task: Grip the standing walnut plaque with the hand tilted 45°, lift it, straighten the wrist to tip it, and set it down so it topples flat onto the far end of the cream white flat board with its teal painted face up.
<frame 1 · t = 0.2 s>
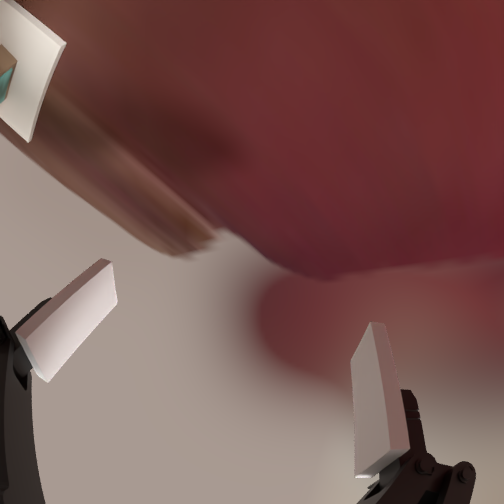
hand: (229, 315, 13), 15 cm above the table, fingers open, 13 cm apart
walnut plaque: (3, 72, 17), point 1 cm above the table, touching cream white flat board
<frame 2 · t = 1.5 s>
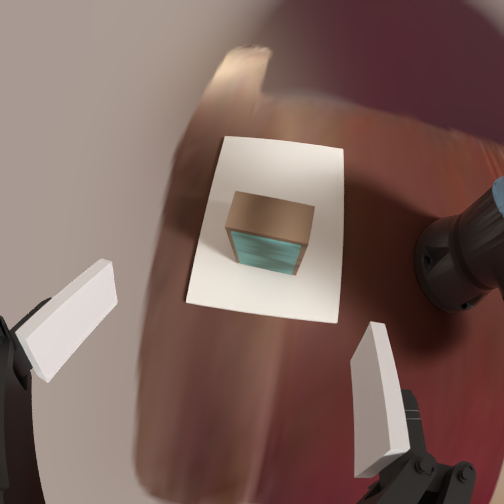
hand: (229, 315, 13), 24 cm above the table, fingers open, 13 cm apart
walnut plaque: (269, 255, 38), point 1 cm above the table, touching cream white flat board
cream white flat board: (274, 217, 41), on the table
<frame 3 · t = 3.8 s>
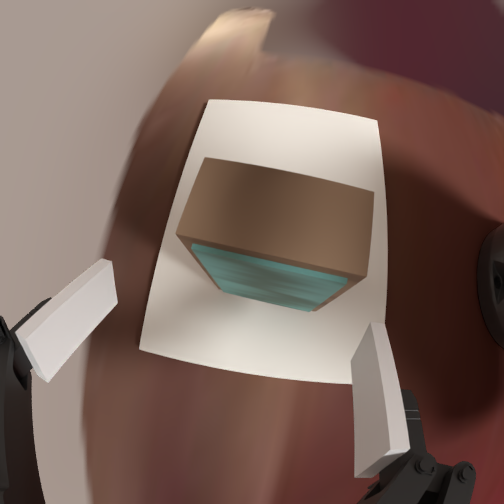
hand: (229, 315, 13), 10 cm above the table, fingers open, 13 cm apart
walnut plaque: (272, 277, 23), point 1 cm above the table, touching cream white flat board
cream white flat board: (280, 214, 26), on the table
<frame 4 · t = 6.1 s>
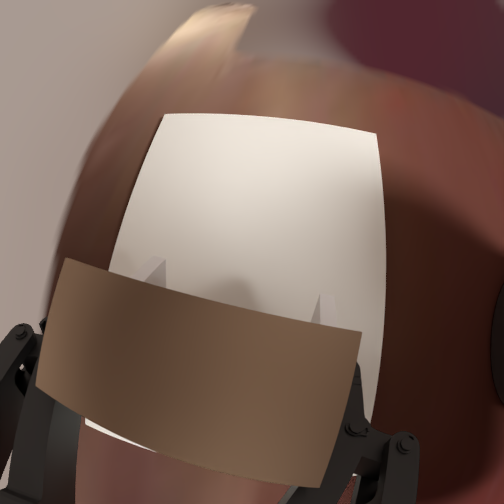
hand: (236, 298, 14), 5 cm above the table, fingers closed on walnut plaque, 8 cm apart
walnut plaque: (229, 358, 17), point 1 cm above the table, touching cream white flat board, gripper
cream white flat board: (244, 270, 20), on the table
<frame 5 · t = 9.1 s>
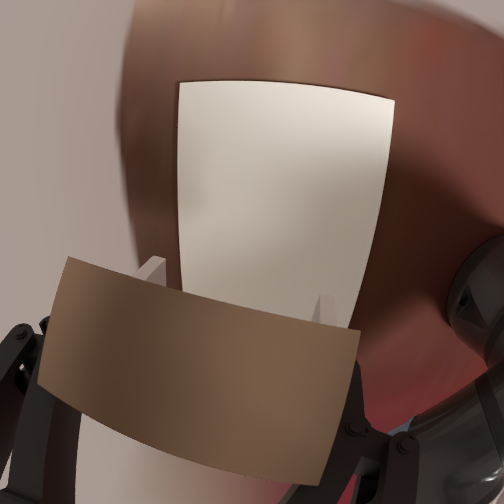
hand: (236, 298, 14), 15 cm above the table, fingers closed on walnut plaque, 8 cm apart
walnut plaque: (230, 358, 17), point 15 cm above the table, tilted 45°, touching gripper
cream white flat board: (274, 225, 28), on the table
when the fingers open (4 cm above the table, at t = 11.6 s): walnut plaque moves 2 cm and tips over, resting on cream white flat board.
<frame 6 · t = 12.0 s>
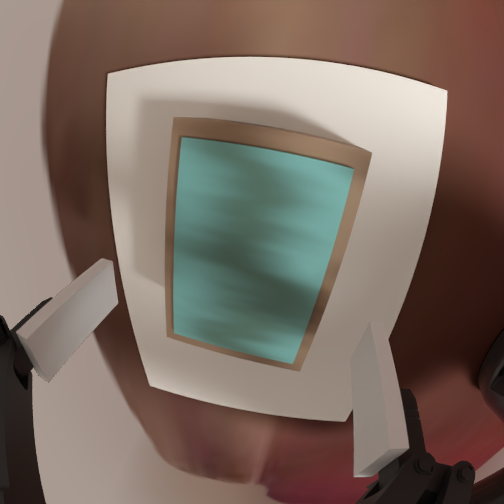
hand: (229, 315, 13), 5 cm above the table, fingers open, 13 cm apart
walnut plaque: (239, 333, 17), point 3 cm above the table, tilted 90°, touching cream white flat board
cream white flat board: (253, 286, 19), on the table
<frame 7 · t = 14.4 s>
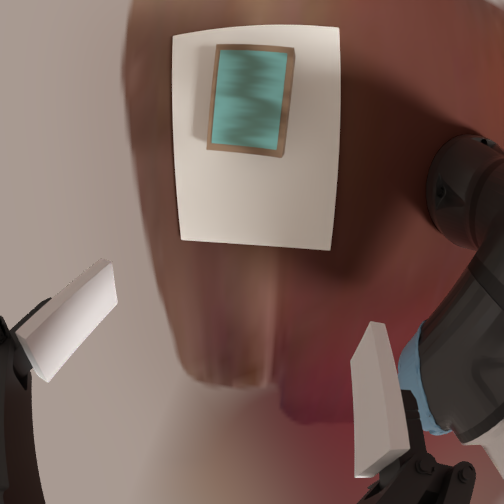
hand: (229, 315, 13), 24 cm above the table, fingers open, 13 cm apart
walnut plaque: (246, 151, 30), point 3 cm above the table, tilted 90°, touching cream white flat board
cream white flat board: (253, 134, 32), on the table
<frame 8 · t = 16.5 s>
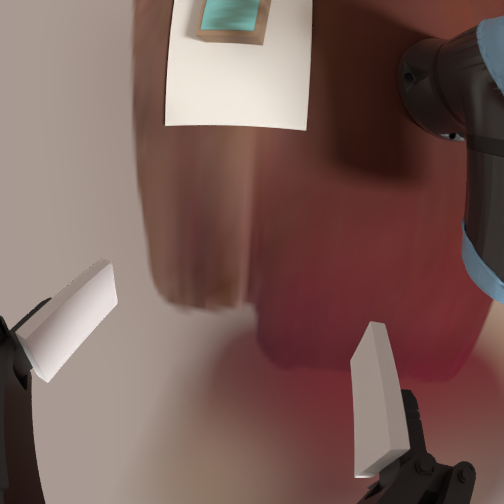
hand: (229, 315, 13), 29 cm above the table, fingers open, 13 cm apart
walnut plaque: (229, 39, 28), point 3 cm above the table, tilted 90°, touching cream white flat board
cream white flat board: (237, 33, 30), on the table
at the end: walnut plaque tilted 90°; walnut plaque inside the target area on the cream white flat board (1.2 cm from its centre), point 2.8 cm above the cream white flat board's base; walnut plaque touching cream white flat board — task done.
